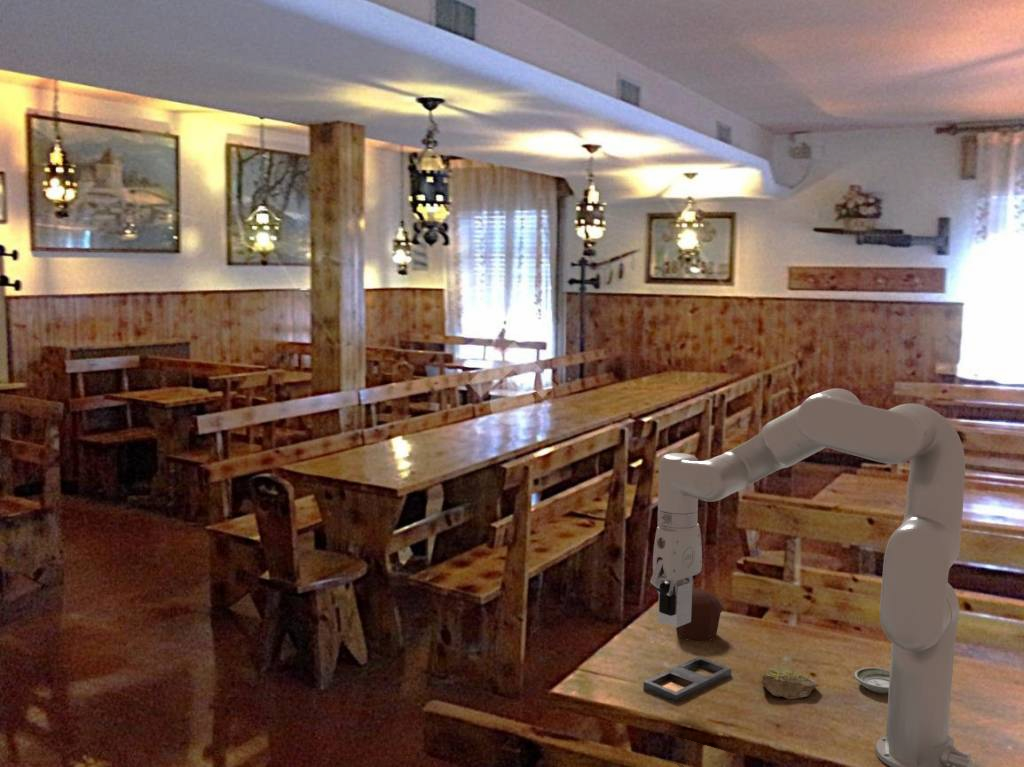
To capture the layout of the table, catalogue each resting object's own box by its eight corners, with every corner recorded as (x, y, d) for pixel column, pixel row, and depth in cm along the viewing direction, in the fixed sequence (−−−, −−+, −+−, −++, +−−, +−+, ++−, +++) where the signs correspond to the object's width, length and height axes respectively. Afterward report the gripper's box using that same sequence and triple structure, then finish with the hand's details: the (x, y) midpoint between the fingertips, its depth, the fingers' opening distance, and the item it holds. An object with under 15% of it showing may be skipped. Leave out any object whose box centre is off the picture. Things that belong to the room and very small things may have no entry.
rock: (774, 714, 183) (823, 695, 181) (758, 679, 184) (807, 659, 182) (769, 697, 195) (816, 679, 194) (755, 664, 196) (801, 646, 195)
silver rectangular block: (691, 621, 186) (692, 581, 185) (676, 627, 182) (677, 587, 181) (672, 615, 189) (673, 576, 188) (658, 621, 186) (659, 581, 185)
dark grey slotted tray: (731, 675, 194) (731, 668, 194) (676, 702, 182) (676, 695, 181) (698, 663, 200) (698, 656, 199) (643, 688, 187) (643, 681, 187)
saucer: (917, 693, 187) (918, 681, 186) (881, 703, 182) (882, 691, 182) (878, 674, 195) (878, 663, 195) (843, 683, 191) (843, 672, 190)
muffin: (711, 648, 208) (712, 603, 207) (663, 637, 214) (664, 594, 212) (729, 630, 218) (730, 588, 217) (683, 621, 224) (684, 579, 222)
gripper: (665, 530, 175) (663, 627, 177) (719, 514, 186) (716, 605, 188) (633, 522, 180) (631, 616, 182) (688, 507, 192) (685, 595, 194)
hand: (675, 609), depth 185 cm, fingers closed on silver rectangular block, 4 cm apart
